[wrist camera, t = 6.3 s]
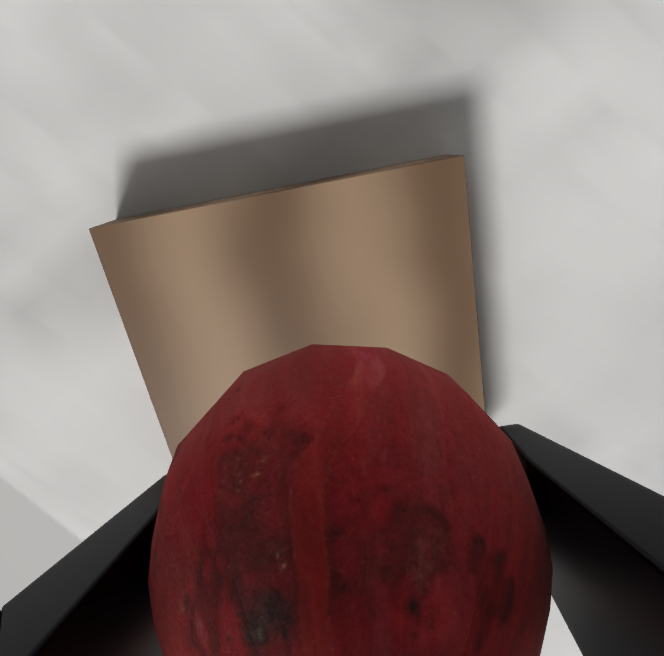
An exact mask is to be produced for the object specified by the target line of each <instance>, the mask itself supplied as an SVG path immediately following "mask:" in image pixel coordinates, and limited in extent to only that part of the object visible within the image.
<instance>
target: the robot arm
mask: <svg viewBox="0 0 664 656" xmlns="http://www.w3.org/2000/svg"><path fill="white" fill-rule="evenodd" d="M499 428H500V429H501V430H502V431H503V432H504V433H505V434H506V435H507V436H508V437H509V438H510V440H511V441H512V443H513V446H514V448H515V450H516V453H517V455H518V457H519V460H520V462H521V464H522V466H523V469H524V471H525V473H526V476H527V478H528V481H529V484H530V487H531V489H532V492H533V495H534V498H535V500H536V503H537V506H538V509H539V512H540V514H541V517H542V520H543V523H544V526H545V529H546V534H547V539H548V544H549V550H550V555H551V560H552V565H553V576H552V589H551V595H552V597H553V599H554V601H555V603H556V605H557V607H558V609H559V611H560V612H561V614H562V616H563V618H564V620H565V622H566V624H567V626H568V628H569V630H570V632H571V634H572V635H573V637H574V639H575V641H576V643H577V645H578V647H579V649H580V651H581V653H582V655H583V656H664V496H662V495H660V494H658V493H656V492H654V491H652V490H650V489H648V488H646V487H644V486H642V485H640V484H638V483H636V482H634V481H632V480H630V479H628V478H626V477H624V476H622V475H620V474H618V473H616V472H614V471H612V470H610V469H608V468H606V467H604V466H602V465H600V464H598V463H596V462H594V461H592V460H590V459H588V458H586V457H584V456H582V455H580V454H578V453H576V452H574V451H572V450H570V449H568V448H566V447H564V446H562V445H560V444H558V443H556V442H554V441H552V440H550V439H548V438H546V437H544V436H542V435H540V434H538V433H536V432H534V431H532V430H530V429H528V428H526V427H524V426H522V425H519V424H513V425H506V426H500V427H499ZM166 476H167V475H165V476H163V477H162V478H161V479H160V480H158V481H157V482H156V483H155V484H153V485H152V486H151V487H150V488H148V489H147V490H146V491H145V492H144V493H142V494H141V495H140V496H139V497H137V498H136V499H135V500H134V501H132V502H131V503H130V504H129V505H127V506H126V507H125V508H124V509H123V510H121V511H120V512H119V513H118V514H116V515H115V516H114V517H113V518H111V519H110V520H109V521H108V522H106V523H105V524H104V525H103V526H102V527H100V528H99V529H98V530H97V531H95V532H94V533H93V534H92V535H90V536H89V537H88V538H87V539H85V540H84V541H83V542H82V543H81V544H79V545H78V546H77V547H76V548H74V549H73V550H72V551H71V552H69V553H68V554H67V555H66V556H65V557H64V558H62V559H61V560H60V561H58V562H57V563H56V564H55V565H53V566H52V567H51V568H50V569H48V570H47V571H46V572H45V573H43V575H41V576H40V577H39V578H37V579H36V580H35V581H34V582H32V583H31V584H30V585H29V586H28V587H26V588H25V589H24V590H22V591H21V592H20V593H19V594H18V595H16V596H15V597H14V598H13V599H12V600H10V601H9V602H8V603H6V604H5V605H4V606H3V608H2V611H1V610H0V656H163V654H162V650H161V647H160V644H159V640H158V637H157V633H156V630H155V627H154V621H153V615H152V608H151V601H150V594H149V587H148V577H149V566H150V554H151V543H152V538H153V533H154V528H155V523H156V518H157V513H158V508H159V504H160V499H161V494H162V489H163V484H164V482H165V479H166Z"/></svg>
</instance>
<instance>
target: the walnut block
mask: <svg viewBox="0 0 664 656" xmlns="http://www.w3.org/2000/svg"><path fill="white" fill-rule="evenodd" d="M89 231H90V233H91V236H92V239H93V242H94V244H95V247H96V250H97V252H98V255H99V258H100V261H101V263H102V266H103V269H104V272H105V274H106V277H107V280H108V283H109V285H110V288H111V291H112V294H113V296H114V299H115V302H116V305H117V307H118V310H119V313H120V316H121V318H122V321H123V324H124V327H125V329H126V332H127V335H128V338H129V340H130V343H131V346H132V349H133V351H134V354H135V357H136V359H137V362H138V365H139V368H140V370H141V373H142V376H143V379H144V381H145V384H146V387H147V390H148V392H149V395H150V398H151V401H152V403H153V406H154V409H155V412H156V414H157V417H158V420H159V423H160V425H161V428H162V431H163V434H164V436H165V439H166V442H167V445H168V447H169V450H170V453H171V455H172V458H173V457H174V454H175V451H176V448H177V445H178V444H179V443H180V442H181V441H182V440H183V439H184V438H185V437H186V435H187V434H188V433H189V432H190V431H191V430H192V429H193V428H194V426H195V425H196V424H197V423H198V422H199V421H200V420H201V419H202V417H203V416H204V415H205V414H206V413H207V412H208V411H209V410H210V408H211V407H212V406H213V405H214V404H215V403H216V402H217V401H218V399H219V398H220V397H221V396H222V395H223V394H224V393H225V392H226V390H227V389H228V388H229V387H230V386H231V385H232V384H233V383H234V381H235V380H236V379H237V378H238V377H239V376H240V375H241V374H242V373H243V371H246V370H248V369H251V368H253V367H256V366H258V365H261V364H263V363H266V362H268V361H271V360H273V359H276V358H278V357H281V356H283V355H286V354H288V353H291V352H293V351H296V350H299V349H301V348H304V347H306V346H309V345H311V344H320V345H342V346H364V347H385V348H389V349H391V350H394V351H396V352H398V353H400V354H403V355H405V356H407V357H409V358H412V359H414V360H416V361H419V362H421V363H423V364H425V365H428V366H430V367H432V368H434V369H437V370H439V371H441V372H444V373H446V374H448V375H449V376H450V377H451V378H452V379H453V380H454V381H455V382H456V383H457V384H458V385H459V386H460V387H461V388H462V389H464V390H465V391H466V392H467V393H468V394H469V395H470V397H471V398H472V399H473V400H474V401H475V402H476V403H477V404H478V405H479V406H480V407H481V408H482V409H483V411H484V412H485V409H484V397H483V384H482V372H481V360H480V347H479V335H478V323H477V311H476V298H475V286H474V274H473V261H472V249H471V237H470V225H469V212H468V200H467V188H466V176H465V163H464V156H461V155H444V156H438V157H433V158H428V159H423V160H418V161H413V162H408V163H403V164H398V165H392V166H387V167H382V168H377V169H372V170H367V171H362V172H357V173H352V174H346V175H341V176H336V177H331V178H326V179H321V180H316V181H311V182H306V183H300V184H295V185H290V186H285V187H280V188H275V189H270V190H265V191H260V192H254V193H249V194H244V195H239V196H234V197H229V198H224V199H219V200H214V201H209V202H203V203H198V204H193V205H188V206H183V207H178V208H173V209H168V210H163V211H157V212H152V213H147V214H142V215H137V216H132V217H127V218H122V219H117V220H113V221H110V222H108V223H105V224H102V225H99V226H96V227H93V228H90V229H89Z"/></svg>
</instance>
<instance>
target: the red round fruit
mask: <svg viewBox="0 0 664 656" xmlns="http://www.w3.org/2000/svg"><path fill="white" fill-rule="evenodd" d="M552 576H553V565H552V560H551V555H550V550H549V544H548V539H547V534H546V529H545V526H544V523H543V520H542V517H541V514H540V512H539V509H538V506H537V503H536V500H535V498H534V495H533V492H532V489H531V487H530V484H529V481H528V478H527V476H526V473H525V471H524V469H523V466H522V464H521V462H520V460H519V457H518V455H517V453H516V450H515V448H514V446H513V443H512V441H511V440H510V438H509V437H508V436H507V435H506V434H505V433H504V432H503V431H502V430H501V429H500V428H499V427H498V426H497V425H496V423H495V422H494V421H493V420H492V419H491V418H490V417H489V416H488V415H487V414H486V413H485V412H484V411H483V409H482V408H481V407H480V406H479V405H478V404H477V403H476V402H475V401H474V400H473V399H472V398H471V397H470V395H469V394H468V393H467V392H466V391H465V390H464V389H462V388H461V387H460V386H459V385H458V384H457V383H456V382H455V381H454V380H453V379H452V378H451V377H450V376H449V375H448V374H446V373H444V372H441V371H439V370H437V369H434V368H432V367H430V366H428V365H425V364H423V363H421V362H419V361H416V360H414V359H412V358H409V357H407V356H405V355H403V354H400V353H398V352H396V351H394V350H391V349H389V348H385V347H364V346H342V345H320V344H311V345H309V346H306V347H304V348H301V349H299V350H296V351H293V352H291V353H288V354H286V355H283V356H281V357H278V358H276V359H273V360H271V361H268V362H266V363H263V364H261V365H258V366H256V367H253V368H251V369H248V370H246V371H243V373H242V374H241V375H240V376H239V377H238V378H237V379H236V380H235V381H234V383H233V384H232V385H231V386H230V387H229V388H228V389H227V390H226V392H225V393H224V394H223V395H222V396H221V397H220V398H219V399H218V401H217V402H216V403H215V404H214V405H213V406H212V407H211V408H210V410H209V411H208V412H207V413H206V414H205V415H204V416H203V417H202V419H201V420H200V421H199V422H198V423H197V424H196V425H195V426H194V428H193V429H192V430H191V431H190V432H189V433H188V434H187V435H186V437H185V438H184V439H183V440H182V441H181V442H180V443H179V444H178V445H177V448H176V451H175V454H174V457H173V459H172V462H171V465H170V468H169V470H168V473H167V476H166V479H165V482H164V484H163V489H162V494H161V499H160V504H159V508H158V513H157V518H156V523H155V528H154V533H153V538H152V543H151V554H150V566H149V577H148V587H149V594H150V601H151V608H152V615H153V621H154V627H155V630H156V633H157V637H158V640H159V644H160V647H161V650H162V654H163V656H540V653H541V649H542V644H543V640H544V635H545V630H546V626H547V621H548V616H549V612H550V603H551V589H552Z"/></svg>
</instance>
